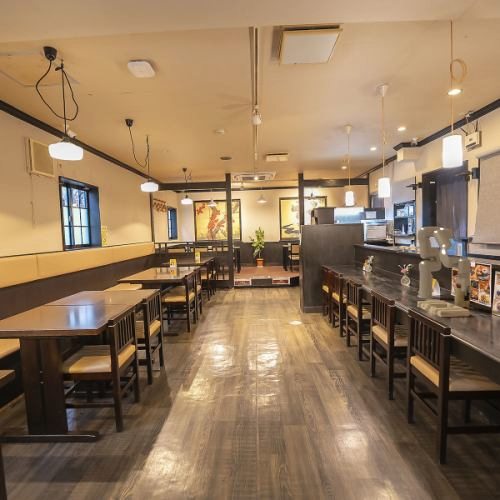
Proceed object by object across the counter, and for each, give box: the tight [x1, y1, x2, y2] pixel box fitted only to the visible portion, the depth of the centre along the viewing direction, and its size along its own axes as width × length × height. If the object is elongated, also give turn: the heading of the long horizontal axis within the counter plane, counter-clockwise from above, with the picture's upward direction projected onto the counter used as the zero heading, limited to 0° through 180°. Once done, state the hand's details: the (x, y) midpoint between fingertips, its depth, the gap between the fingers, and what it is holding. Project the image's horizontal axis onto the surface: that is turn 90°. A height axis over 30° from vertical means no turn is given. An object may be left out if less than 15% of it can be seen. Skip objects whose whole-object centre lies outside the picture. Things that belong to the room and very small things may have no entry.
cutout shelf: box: [416, 300, 470, 318], centre depth 219 cm, size 26×20×4 cm
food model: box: [454, 282, 472, 310], centre depth 224 cm, size 10×7×20 cm
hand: (462, 299), depth 224 cm, fingers closed on food model, 7 cm apart
